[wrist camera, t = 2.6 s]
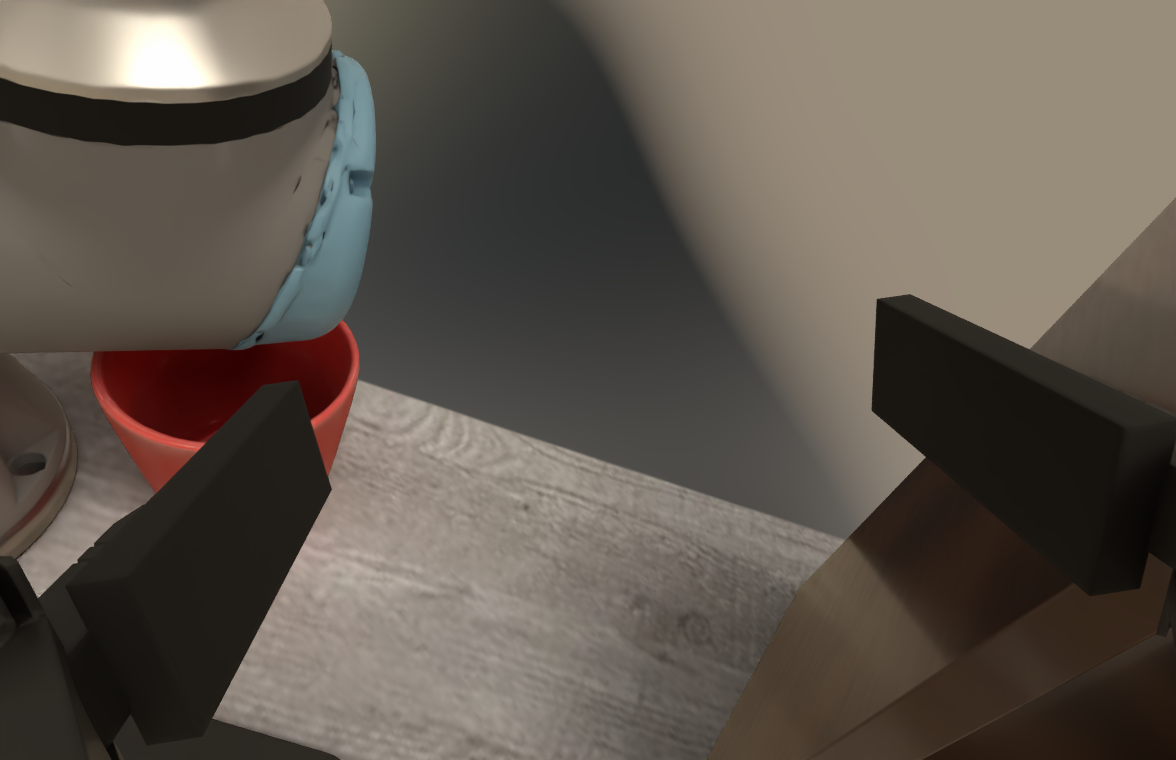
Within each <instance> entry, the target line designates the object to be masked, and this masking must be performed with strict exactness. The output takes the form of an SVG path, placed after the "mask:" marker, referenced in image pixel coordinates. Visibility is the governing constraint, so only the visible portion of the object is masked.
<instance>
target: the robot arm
mask: <svg viewBox="0 0 1176 760" xmlns="http://www.w3.org/2000/svg"><path fill="white" fill-rule="evenodd" d="M375 158H376V126H375V112H374V103H373V98H372V93H371V88H370V83H369V80H368V77H367V74H366V72H365V71H364V69H363V68H362V67H361V66H360V65H359V63H358V62H357V61H356V60H354V59H352V58H349V57H346V56H344V55H343V54H342V53H341V52H340V51H339V50H334V51H332V21H331V17H330V14H329V11H328V9H327V7H326V5H325V3H324V2H323V0H0V760H124V758H123V756H122V755H121V753H120V751H119V749H118V747H117V745H116V743H115V742H114V738H115V737H116V735H117V734H118V732H119V731H120V729H121V728H122V726H123V725H124V723H125V722H126V720H127V719H128V717H129V716H130V714H131V716H132V718H133V720H134V722H135V724H136V726H137V728H138V730H139V732H140V734H141V736H142V737H143V739H144V741H145V743H146V745H147V746H148V745H154V744H160V743H167V742H173V741H179V740H186V739H192V738H198V737H203V735H204V733H205V731H206V729H207V727H208V725H209V723H210V721H211V719H212V718H213V716H214V714H215V712H216V710H217V708H218V706H219V704H220V702H221V700H222V698H223V696H224V695H225V693H226V691H227V689H228V687H229V685H230V683H231V681H232V679H233V677H234V675H235V674H236V672H237V670H238V668H239V666H240V664H241V662H242V660H243V658H244V656H245V654H246V652H247V651H248V649H249V647H250V645H251V643H252V641H253V639H254V637H255V635H256V633H257V631H258V630H259V628H260V626H261V624H262V622H263V620H264V618H265V616H266V614H267V612H268V610H269V608H270V607H271V605H272V603H273V601H274V599H275V597H276V595H277V593H278V591H279V589H280V587H281V586H282V584H283V582H284V580H285V578H286V576H287V574H288V572H289V570H290V568H291V566H292V565H293V563H294V561H295V559H296V557H297V555H298V553H299V551H300V549H301V547H302V545H303V543H304V542H305V540H306V538H307V536H308V534H309V532H310V530H311V528H312V526H313V524H314V522H315V521H316V519H317V517H318V515H319V513H320V511H321V509H322V507H323V505H324V503H325V501H326V499H327V498H328V496H329V494H330V492H331V490H332V489H331V485H330V482H329V479H328V476H327V472H326V469H325V466H324V462H323V459H322V456H321V453H320V449H319V446H318V443H317V440H316V436H315V433H314V430H313V426H312V423H311V420H310V417H309V413H308V410H307V407H306V403H305V400H304V397H303V394H302V390H301V387H300V384H299V380H295V381H288V382H281V383H273V384H266V385H262V386H261V387H260V388H259V389H258V390H257V391H256V392H255V393H254V394H253V395H252V396H251V397H250V398H249V399H248V400H247V401H246V402H245V403H244V405H243V406H242V407H241V408H240V409H239V410H238V411H237V412H236V413H235V414H234V415H233V416H232V417H231V418H230V419H229V420H228V421H227V422H226V423H225V424H224V425H223V426H222V427H221V428H220V429H219V430H218V431H217V432H216V433H215V434H214V435H213V436H212V437H211V438H210V439H209V440H208V441H207V442H206V443H205V444H204V445H203V446H202V447H201V448H200V449H199V450H198V451H197V452H196V453H195V454H194V455H193V456H192V457H191V458H190V459H189V460H188V461H187V462H186V463H185V464H184V466H183V467H182V468H181V469H180V470H179V471H178V472H177V473H176V474H175V475H174V476H173V477H172V478H171V479H170V480H169V481H168V482H167V483H166V484H165V485H164V486H163V487H162V488H161V489H160V490H159V491H158V492H157V493H156V494H155V495H154V496H153V497H152V498H151V499H150V500H149V501H148V502H147V503H146V504H145V505H142V506H141V507H139V508H138V509H136V510H135V511H133V512H131V513H130V514H128V515H127V516H125V517H124V518H122V519H120V520H119V521H117V522H116V523H114V524H113V525H112V526H111V527H110V528H109V529H108V530H107V531H106V532H105V533H104V534H103V535H102V536H101V537H100V538H99V539H98V540H97V541H96V542H95V543H94V547H90V548H89V549H88V550H87V551H86V552H85V553H84V554H83V555H82V556H81V557H80V558H79V559H78V563H76V564H72V565H71V566H70V567H69V568H68V569H67V570H66V571H65V572H64V573H63V574H62V575H61V576H60V577H59V578H58V579H57V580H56V581H55V582H54V583H53V584H52V585H51V586H50V587H49V588H48V589H47V590H46V591H45V592H44V593H43V594H42V595H41V596H40V597H39V598H37V596H36V594H35V592H34V591H33V589H32V587H31V585H30V583H29V581H28V579H27V577H26V576H25V574H24V572H23V570H22V568H21V566H20V564H19V563H18V561H16V560H15V559H16V558H17V557H18V556H19V555H20V554H21V553H22V552H24V551H25V550H26V549H27V548H28V547H29V546H30V545H31V544H32V543H33V542H34V541H35V540H36V539H37V538H38V537H39V536H40V535H41V534H42V533H43V531H44V530H45V529H46V528H47V527H48V525H49V524H50V523H51V522H52V520H53V519H54V518H55V516H56V515H57V513H58V512H59V510H60V509H61V507H62V505H63V504H64V502H65V500H66V498H67V496H68V494H69V492H70V489H71V487H72V484H73V481H74V477H75V473H76V467H77V447H76V442H75V438H74V435H73V433H72V430H71V428H70V425H69V423H68V420H67V417H66V415H65V412H64V410H63V407H62V405H61V404H60V402H59V400H58V398H57V397H56V396H55V394H54V393H53V392H52V391H51V390H50V389H49V388H48V387H47V386H46V385H45V384H44V383H43V382H42V381H41V380H39V379H38V378H37V377H36V376H34V375H33V374H32V373H31V372H30V371H29V370H27V369H26V368H25V367H24V366H23V365H22V364H20V363H19V362H18V361H17V360H16V359H15V358H14V357H12V356H11V355H10V354H9V353H39V352H89V351H139V350H189V349H227V350H244V349H247V348H250V347H252V346H254V345H260V344H271V343H282V342H293V341H304V340H311V339H315V338H318V337H321V336H323V335H325V334H327V333H328V332H330V331H331V330H333V329H334V328H335V327H336V326H337V325H338V324H339V323H340V322H341V321H342V320H343V318H344V317H345V315H346V313H347V312H348V310H349V309H350V306H351V304H352V302H353V299H354V297H355V295H356V292H357V289H358V285H359V282H360V278H361V274H362V270H363V266H364V261H365V256H366V250H367V245H368V240H369V233H370V226H371V217H372V206H373V202H372V197H371V192H370V186H371V184H372V180H373V173H374V167H375ZM875 329H876V330H875V350H874V371H873V392H872V411H873V412H874V413H875V414H876V415H877V416H879V417H880V418H881V419H882V420H883V421H884V422H886V423H887V424H888V425H889V426H891V428H893V429H894V430H895V431H896V432H897V433H898V434H900V435H901V436H902V437H903V438H904V439H906V440H907V441H908V442H909V443H910V444H912V445H913V446H914V447H915V448H916V449H917V450H919V451H920V452H921V453H922V454H923V455H924V456H926V457H927V458H928V459H929V460H930V461H931V462H933V463H934V464H935V465H936V466H937V467H938V468H940V469H941V470H942V471H943V472H944V473H945V474H947V475H948V476H949V477H950V478H951V479H952V480H954V481H955V482H956V483H957V484H958V485H960V486H961V487H962V488H963V489H964V490H965V491H967V492H968V493H969V494H970V495H971V496H972V497H974V498H975V499H976V500H977V501H978V502H979V503H981V504H982V505H983V506H984V507H985V508H986V509H988V510H989V511H990V512H991V513H992V514H994V515H995V516H996V517H997V518H998V519H999V520H1001V521H1002V522H1003V523H1004V524H1005V525H1006V526H1008V527H1009V528H1010V529H1011V530H1012V531H1013V532H1015V533H1016V534H1017V535H1018V536H1019V537H1021V538H1022V539H1023V540H1024V541H1025V542H1026V543H1028V544H1029V545H1030V546H1031V547H1032V548H1033V549H1035V550H1036V551H1037V552H1038V553H1039V554H1040V555H1042V556H1043V557H1044V558H1045V559H1046V560H1048V561H1049V562H1050V563H1051V564H1052V565H1053V566H1055V567H1056V568H1057V569H1058V570H1059V571H1060V572H1062V573H1063V574H1064V575H1065V576H1066V577H1067V578H1069V579H1070V580H1071V581H1072V582H1073V583H1074V584H1076V585H1077V586H1078V587H1079V588H1080V589H1082V590H1083V591H1084V592H1085V593H1086V594H1087V595H1089V596H1096V595H1102V594H1109V593H1115V592H1121V591H1128V590H1134V589H1140V587H1141V583H1142V578H1143V574H1144V570H1145V566H1146V562H1147V558H1148V554H1149V553H1151V554H1152V555H1153V556H1155V557H1156V558H1158V559H1159V560H1161V561H1162V562H1163V563H1165V564H1166V565H1168V566H1169V567H1171V568H1172V569H1173V571H1172V574H1171V578H1170V582H1169V586H1168V590H1167V594H1166V597H1165V601H1164V605H1163V609H1162V613H1161V617H1160V620H1159V624H1158V628H1157V632H1156V635H1159V636H1163V637H1166V636H1167V633H1168V631H1169V628H1171V627H1172V634H1173V641H1174V648H1175V656H1176V414H1175V413H1173V412H1170V411H1168V410H1166V409H1164V408H1162V407H1159V406H1157V405H1155V404H1153V403H1151V402H1148V403H1145V400H1144V399H1142V398H1140V397H1138V396H1135V395H1133V394H1131V393H1129V392H1126V393H1124V392H1123V390H1122V389H1120V388H1118V387H1116V386H1114V385H1111V384H1109V383H1107V382H1105V381H1103V380H1101V379H1098V378H1096V377H1092V376H1088V375H1084V374H1081V373H1079V372H1077V371H1075V370H1072V369H1070V368H1068V367H1066V366H1064V365H1062V364H1060V363H1057V362H1055V361H1053V360H1051V359H1049V358H1047V357H1044V356H1042V355H1040V354H1038V353H1036V352H1034V351H1031V350H1029V349H1027V348H1025V347H1023V346H1020V345H1018V344H1016V343H1014V342H1012V341H1010V340H1008V339H1006V338H1003V337H1001V336H999V335H997V334H995V333H992V332H990V331H988V330H986V329H984V328H982V327H980V326H977V325H975V324H973V323H971V322H969V321H967V320H965V319H962V318H960V317H958V316H956V315H954V314H952V313H949V312H947V311H945V310H943V309H941V308H939V307H937V306H934V305H932V304H930V303H928V302H925V301H924V300H921V299H919V298H917V297H915V296H913V295H910V294H909V295H902V296H895V297H889V298H881V299H877V307H876V328H875Z"/></svg>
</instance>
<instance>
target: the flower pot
mask: <svg viewBox="0 0 1176 760" xmlns="http://www.w3.org/2000/svg"><path fill="white" fill-rule="evenodd" d="M359 366H360V358H359V351H358V347H357V344H356V341H355V339H354V336H353V334H352V332H351V330H350V329H349V328H348V326H347V325H346V323H345V322H344V321H343V320H342V321H341V322H340V323H339V324H338V325H337V326H336V327H335V328H334V329H333V330H331V331H330V332H328V333H327V334H325V335H323V336H321V337H318V338H315V339H311V340H304V341H293V342H282V343H271V344H260V345H254V346H252V347H250V348H247V349H244V350H227V349H189V350H139V351H94V354H93V357H92V362H91V371H90V376H91V384H92V388H93V392H94V394H95V397H96V399H97V401H98V403H99V405H100V406H101V408H102V410H103V412H104V413H105V415H106V417H107V419H108V420H109V422H110V424H111V425H112V427H113V429H114V430H115V432H116V433H117V435H118V437H119V438H120V440H121V441H122V443H123V445H124V446H125V448H126V449H127V451H128V452H129V454H130V455H131V457H132V459H133V460H134V462H135V463H136V465H137V466H138V468H139V469H140V471H141V473H142V474H143V476H144V477H145V478H146V480H147V481H148V483H149V484H150V485H151V487H152V488H153V490H154V491H155V492H156V493H157V492H158V491H159V490H160V489H161V488H162V487H163V486H164V485H165V484H166V483H167V482H168V481H169V480H170V479H171V478H172V477H173V476H174V475H175V474H176V473H177V472H178V471H179V470H180V469H181V468H182V467H183V466H184V464H185V463H186V462H187V461H188V460H189V459H190V458H191V457H192V456H193V455H194V454H195V453H196V452H197V451H198V450H199V449H200V448H201V447H202V446H203V445H204V444H205V443H206V442H207V441H208V440H209V439H210V438H211V437H212V436H213V435H214V434H215V433H216V432H217V431H218V430H219V429H220V428H221V427H222V426H223V425H224V424H225V423H226V422H227V421H228V420H229V419H230V418H231V417H232V416H233V415H234V414H235V413H236V412H237V411H238V410H239V409H240V408H241V407H242V406H243V405H244V403H245V402H246V401H247V400H248V399H249V398H250V397H251V396H252V395H253V394H254V393H255V392H256V391H257V390H258V389H259V388H260V387H261V386H262V385H266V384H273V383H281V382H288V381H295V380H299V384H300V387H301V390H302V394H303V397H304V400H305V403H306V407H307V410H308V413H309V417H310V420H311V423H312V426H313V430H314V433H315V436H316V440H317V443H318V446H319V449H320V453H321V456H322V459H323V462H324V466H325V469H326V472H327V476H328V475H329V472H330V469H331V466H332V464H333V461H334V458H335V455H336V452H337V449H338V445H339V442H340V439H341V436H342V433H343V429H344V426H345V423H346V420H347V417H348V413H349V410H350V407H351V403H352V400H353V396H354V392H355V388H356V384H357V380H358V375H359Z"/></svg>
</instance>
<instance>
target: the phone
mask: <svg viewBox="0 0 1176 760" xmlns="http://www.w3.org/2000/svg"><path fill="white" fill-rule="evenodd" d="M114 742H115V743H116V745H117V747H118V749H119V751H120V753H121V755H122V756H123V758H124V760H340V759H339V758H337V757H336V756H334V755H331V754H329V753H326V752H322V751H319V750H316V749H312V748H309V747H306V746H302V745H299V744H295V743H292V742H289V741H285V740H282V739H278V738H275V737H272V736H268V735H265V734H261V733H258V732H255V731H251V730H248V729H244V728H241V727H237V726H234V725H231V724H227V723H224V722H220V721H217V720H214V719H211V721H210V723H209V725H208V727H207V729H206V731H205V733H204V735H203V737H198V738H192V739H186V740H179V741H173V742H167V743H160V744H154V745H148V746H147V745H146V743H145V741H144V739H143V737H142V736H141V734H140V732H139V730H138V728H137V726H136V724H135V722H134V720H133V718H132V716H131V714H130V716H129V717H128V719H127V720H126V722H125V723H124V725H123V726H122V728H121V729H120V731H119V732H118V734H117V735H116V737H115V738H114Z"/></svg>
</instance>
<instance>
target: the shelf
mask: <svg viewBox="0 0 1176 760" xmlns="http://www.w3.org/2000/svg"><path fill="white" fill-rule="evenodd" d="M1030 350H1031V351H1034V352H1036V353H1038V354H1040V355H1042V356H1044V357H1047V358H1049V359H1051V360H1053V361H1055V362H1057V363H1060V364H1062V365H1064V366H1066V367H1068V368H1070V369H1072V370H1075V371H1077V372H1079V373H1081V374H1084V375H1088V376H1092V377H1096V378H1098V379H1101V380H1103V381H1105V382H1107V383H1109V384H1111V385H1114V386H1116V387H1118V388H1120V389H1122V390H1123V392H1124V393H1126V392H1129V393H1131V394H1133V395H1135V396H1138V397H1140V398H1142V399H1144V400H1145V403H1148V402H1151V403H1153V404H1155V405H1157V406H1159V407H1162V408H1164V409H1166V410H1168V411H1170V412H1173V413H1175V414H1176V198H1175V199H1174V200H1173V201H1172V202H1171V203H1170V204H1169V205H1168V206H1167V207H1166V208H1165V209H1164V210H1163V211H1162V212H1161V214H1160V215H1159V216H1158V217H1157V218H1156V219H1155V220H1154V221H1153V222H1152V223H1151V224H1150V225H1149V226H1148V227H1147V228H1146V229H1145V230H1144V231H1143V232H1142V233H1141V234H1140V235H1139V236H1138V238H1136V240H1135V241H1134V242H1133V243H1132V244H1131V245H1130V246H1129V247H1128V248H1127V249H1126V250H1125V251H1124V252H1123V253H1122V254H1121V255H1120V256H1119V257H1118V258H1117V259H1116V260H1115V261H1114V262H1113V263H1112V264H1111V265H1110V267H1108V269H1107V270H1106V271H1105V272H1104V273H1103V274H1102V275H1101V276H1100V277H1099V278H1098V279H1097V280H1096V281H1095V282H1094V283H1093V284H1092V285H1091V286H1090V287H1089V288H1088V289H1087V290H1086V291H1085V292H1084V293H1083V294H1082V296H1081V297H1080V298H1079V299H1078V300H1077V301H1076V302H1075V303H1074V304H1073V305H1072V306H1071V307H1070V308H1069V309H1068V310H1067V311H1066V312H1065V313H1064V314H1063V315H1062V316H1061V317H1060V318H1059V319H1058V321H1056V323H1055V324H1054V325H1053V326H1052V327H1051V328H1050V329H1049V330H1048V331H1047V332H1046V333H1045V334H1044V335H1043V336H1042V337H1041V338H1040V339H1039V340H1038V341H1037V342H1036V343H1035V344H1034V345H1033V347H1032V348H1030ZM1172 571H1173V569H1172V568H1171V567H1169V566H1168V565H1166V564H1165V563H1163V562H1162V561H1161V560H1159V559H1158V558H1156V557H1155V556H1153V555H1152V554H1151V553H1149V554H1148V558H1147V562H1146V566H1145V570H1144V574H1143V578H1142V583H1141V587H1140V589H1134V590H1128V591H1121V592H1115V593H1109V594H1102V595H1096V596H1089V595H1087V594H1086V593H1085V592H1084V591H1083V590H1082V589H1080V588H1079V587H1078V586H1077V585H1076V584H1074V583H1073V582H1072V581H1071V580H1070V579H1069V578H1067V577H1066V576H1065V575H1064V574H1063V573H1062V572H1060V571H1059V570H1058V569H1057V568H1056V567H1055V566H1053V565H1052V564H1051V563H1050V562H1049V561H1048V560H1046V559H1045V558H1044V557H1043V556H1042V555H1040V554H1039V553H1038V552H1037V551H1036V550H1035V549H1033V548H1032V547H1031V546H1030V545H1029V544H1028V543H1026V542H1025V541H1024V540H1023V539H1022V538H1021V537H1019V536H1018V535H1017V534H1016V533H1015V532H1013V531H1012V530H1011V529H1010V528H1009V527H1008V526H1006V525H1005V524H1004V523H1003V522H1002V521H1001V520H999V519H998V518H997V517H996V516H995V515H994V514H992V513H991V512H990V511H989V510H988V509H986V508H985V507H984V506H983V505H982V504H981V503H979V502H978V501H977V500H976V499H975V498H974V497H972V496H971V495H970V494H969V493H968V492H967V491H965V490H964V489H963V488H962V487H961V486H960V485H958V484H957V483H956V482H955V481H954V480H952V479H951V478H950V477H949V476H948V475H947V474H945V473H944V472H943V471H942V470H941V469H940V468H938V467H937V466H936V465H935V464H934V463H933V462H931V461H930V460H929V459H928V458H927V457H926V458H925V459H924V460H923V461H922V462H921V463H920V464H919V465H918V466H917V467H916V468H915V469H914V470H913V471H912V472H911V473H910V474H909V475H908V476H907V478H905V479H904V481H903V482H901V484H900V485H899V486H898V487H897V488H896V489H895V490H894V491H893V492H892V493H891V494H890V495H889V496H888V497H887V498H886V499H885V500H884V501H883V502H882V503H881V504H880V505H879V506H878V507H877V508H876V509H875V511H874V512H873V513H872V514H871V515H870V516H869V517H868V518H867V519H866V520H865V521H864V522H863V523H862V524H861V525H860V526H859V527H858V528H857V529H856V530H855V531H854V532H853V534H851V535H850V537H849V538H848V539H847V540H846V541H845V542H844V543H843V544H842V545H841V546H840V547H839V548H838V549H837V550H836V551H835V552H834V553H833V554H832V555H831V556H830V557H829V558H828V559H827V560H826V561H825V562H824V563H823V565H822V566H821V567H820V568H819V569H818V570H817V571H816V572H815V573H814V574H813V575H812V576H811V577H810V578H809V579H808V580H807V581H806V582H805V583H804V584H803V585H802V586H801V587H800V588H799V590H798V592H797V594H796V595H795V597H794V599H793V601H792V603H791V605H790V606H789V608H788V610H787V612H786V614H785V616H784V618H783V619H782V621H781V623H780V625H779V627H778V629H777V631H776V632H775V634H774V636H773V638H772V640H771V642H770V644H769V645H768V647H767V649H766V651H765V653H764V655H763V656H762V658H761V660H760V662H759V664H758V666H757V668H756V669H755V671H754V673H753V675H752V677H751V679H750V681H749V682H748V684H747V686H746V688H745V690H744V692H743V694H742V695H741V697H740V699H739V701H738V703H737V705H736V706H735V708H734V710H733V712H732V714H731V716H730V718H729V719H728V721H727V723H726V725H725V727H724V729H723V731H722V732H721V734H720V736H719V738H718V740H717V742H716V744H715V745H714V747H713V749H712V751H711V753H710V755H709V756H708V758H707V760H1176V656H1175V648H1174V641H1173V634H1172V627H1171V628H1169V631H1168V633H1167V636H1166V637H1163V636H1159V635H1156V632H1157V628H1158V624H1159V620H1160V617H1161V613H1162V609H1163V605H1164V601H1165V597H1166V594H1167V590H1168V586H1169V582H1170V578H1171V574H1172Z"/></svg>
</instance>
